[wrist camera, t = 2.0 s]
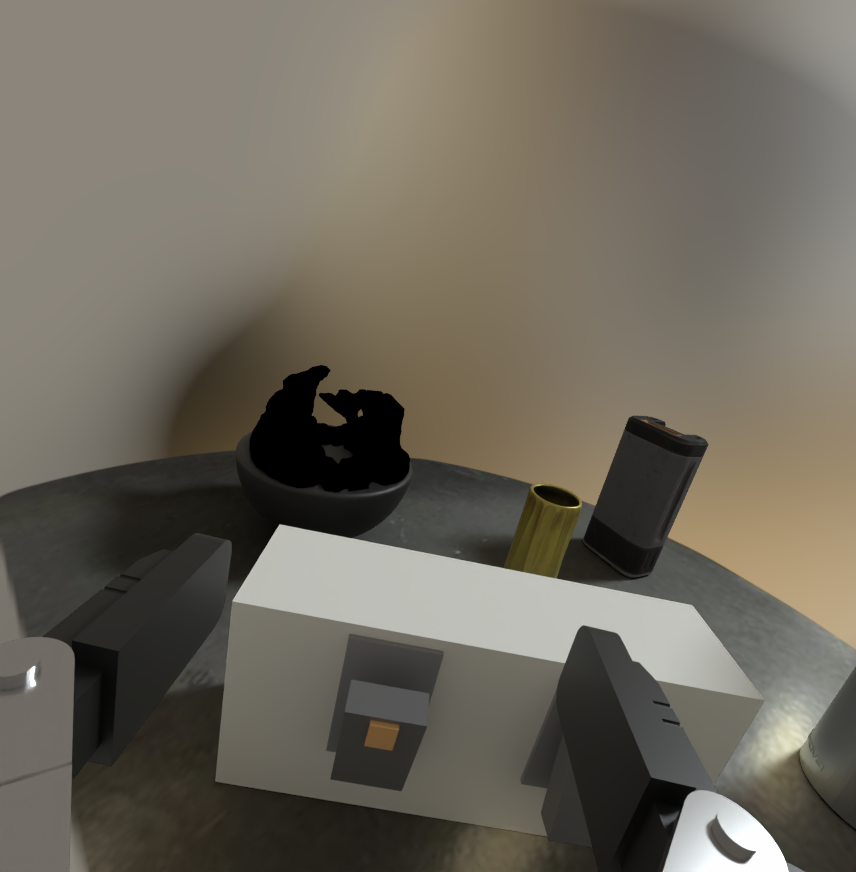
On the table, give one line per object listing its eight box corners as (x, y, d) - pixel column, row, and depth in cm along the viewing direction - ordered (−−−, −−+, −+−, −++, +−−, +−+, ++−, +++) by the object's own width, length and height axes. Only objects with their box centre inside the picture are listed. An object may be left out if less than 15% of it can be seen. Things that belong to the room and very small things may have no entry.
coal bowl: (398, 591, 50) (437, 427, 44) (202, 566, 47) (214, 387, 41) (395, 501, 69) (422, 377, 63) (254, 479, 66) (268, 347, 60)
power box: (260, 677, 37) (279, 524, 33) (624, 742, 39) (692, 605, 34) (212, 786, 29) (229, 605, 25) (672, 862, 31) (768, 705, 26)
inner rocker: (540, 812, 27) (571, 701, 26) (608, 823, 27) (641, 713, 26) (549, 844, 25) (583, 726, 24) (622, 856, 25) (658, 739, 24)
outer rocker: (336, 748, 27) (351, 679, 24) (404, 759, 28) (429, 693, 24) (329, 784, 26) (343, 717, 22) (401, 796, 26) (426, 731, 22)
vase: (555, 617, 52) (598, 503, 47) (522, 637, 48) (566, 515, 43) (512, 584, 56) (548, 477, 51) (478, 601, 52) (514, 485, 47)
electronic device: (655, 575, 65) (715, 442, 59) (628, 581, 62) (687, 442, 56) (604, 537, 73) (651, 415, 66) (577, 541, 70) (624, 414, 63)
